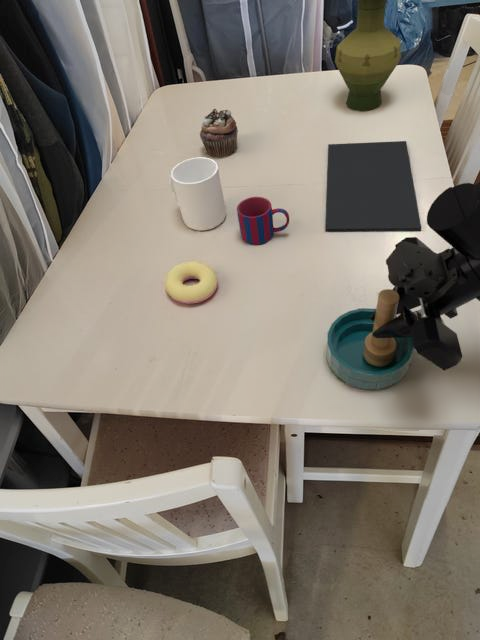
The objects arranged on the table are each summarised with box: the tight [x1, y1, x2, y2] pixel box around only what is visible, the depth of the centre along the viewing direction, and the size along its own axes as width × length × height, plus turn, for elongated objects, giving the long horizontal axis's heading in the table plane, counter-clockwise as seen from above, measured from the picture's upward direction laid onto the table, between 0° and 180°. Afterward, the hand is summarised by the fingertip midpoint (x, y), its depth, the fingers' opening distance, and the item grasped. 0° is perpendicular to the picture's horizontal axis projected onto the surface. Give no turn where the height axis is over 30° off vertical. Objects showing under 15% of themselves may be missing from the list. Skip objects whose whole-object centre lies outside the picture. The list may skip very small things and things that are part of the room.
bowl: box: [326, 307, 415, 390], centre depth 67 cm, size 12×12×4 cm
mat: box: [324, 140, 422, 233], centre depth 96 cm, size 18×32×1 cm, turn 172°
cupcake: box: [199, 108, 239, 159], centre depth 110 cm, size 10×10×10 cm
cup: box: [236, 196, 290, 246], centre depth 87 cm, size 7×10×7 cm
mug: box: [169, 156, 227, 231], centre depth 92 cm, size 10×12×12 cm
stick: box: [363, 288, 399, 367], centre depth 62 cm, size 4×4×13 cm
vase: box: [334, 0, 402, 112], centre depth 109 cm, size 16×16×30 cm
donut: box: [164, 260, 219, 305], centre depth 82 cm, size 10×5×9 cm
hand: (373, 327), depth 62 cm, fingers closed on stick, 2 cm apart
